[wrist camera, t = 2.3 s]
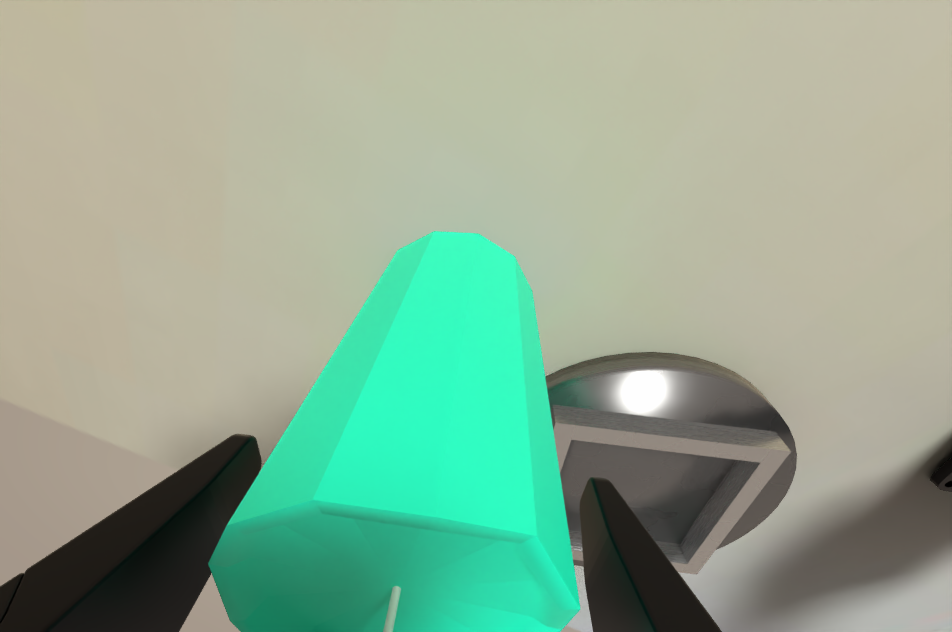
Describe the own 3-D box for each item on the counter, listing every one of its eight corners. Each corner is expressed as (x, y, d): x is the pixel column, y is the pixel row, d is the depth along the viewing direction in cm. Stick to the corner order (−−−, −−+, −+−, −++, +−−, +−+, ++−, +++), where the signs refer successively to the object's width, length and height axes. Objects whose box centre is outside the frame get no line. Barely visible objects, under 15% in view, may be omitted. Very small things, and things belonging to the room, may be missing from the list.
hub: (845, 374, 16) (892, 414, 14) (705, 560, 23) (723, 602, 21) (502, 332, 16) (502, 366, 14) (468, 531, 23) (465, 571, 21)
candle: (454, 387, 17) (387, 828, 7) (347, 298, 15) (36, 732, 5) (564, 310, 15) (701, 795, 5) (456, 193, 13) (293, 598, 3)
